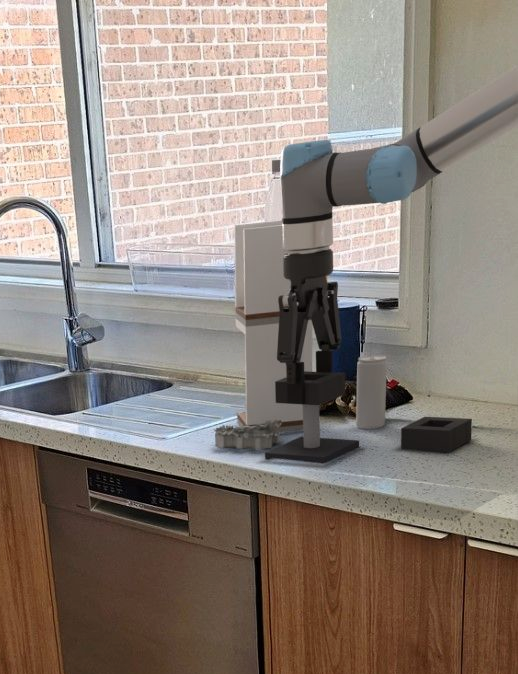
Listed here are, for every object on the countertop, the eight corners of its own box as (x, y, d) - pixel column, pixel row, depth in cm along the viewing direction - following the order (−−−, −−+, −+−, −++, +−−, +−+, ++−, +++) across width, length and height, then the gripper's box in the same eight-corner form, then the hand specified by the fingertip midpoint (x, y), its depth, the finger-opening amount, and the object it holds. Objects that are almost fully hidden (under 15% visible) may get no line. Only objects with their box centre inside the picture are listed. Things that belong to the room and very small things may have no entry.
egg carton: (285, 443, 211) (285, 419, 210) (265, 453, 206) (265, 429, 204) (229, 439, 218) (229, 416, 216) (209, 449, 212) (208, 426, 211)
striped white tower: (299, 418, 226) (299, 218, 212) (311, 430, 217) (313, 222, 202) (237, 423, 227) (234, 225, 213) (247, 436, 217) (244, 229, 203)
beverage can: (356, 431, 211) (357, 361, 206) (355, 425, 215) (356, 356, 210) (385, 430, 210) (387, 359, 205) (384, 423, 214) (386, 354, 209)
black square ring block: (345, 394, 197) (345, 372, 196) (319, 405, 192) (319, 383, 191) (302, 392, 202) (301, 371, 201) (275, 403, 198) (274, 381, 196)
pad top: (471, 440, 196) (472, 418, 195) (448, 452, 192) (448, 430, 190) (424, 437, 202) (424, 416, 201) (400, 449, 197) (400, 428, 196)
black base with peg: (359, 449, 201) (358, 391, 197) (324, 466, 194) (322, 407, 190) (300, 445, 208) (299, 389, 204) (264, 461, 201) (262, 404, 198)
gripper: (321, 241, 197) (324, 382, 206) (248, 261, 184) (254, 411, 193) (364, 239, 192) (364, 384, 201) (292, 259, 179) (296, 413, 188)
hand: (310, 397), depth 197 cm, fingers closed on black square ring block, 8 cm apart
